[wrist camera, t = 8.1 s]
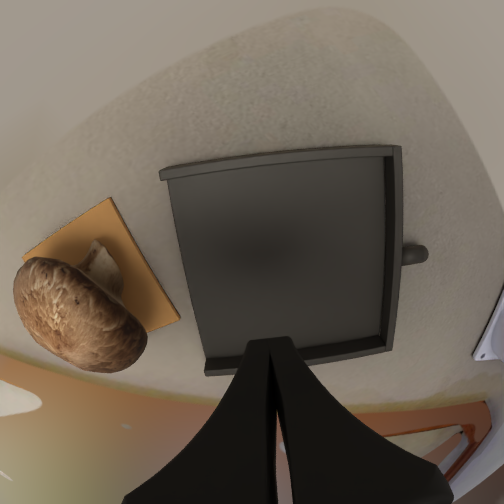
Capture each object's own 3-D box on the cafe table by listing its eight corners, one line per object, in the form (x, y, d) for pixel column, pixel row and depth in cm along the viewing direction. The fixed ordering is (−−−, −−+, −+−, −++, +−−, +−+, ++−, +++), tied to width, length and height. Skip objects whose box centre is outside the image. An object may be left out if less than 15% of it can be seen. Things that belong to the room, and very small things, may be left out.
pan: (207, 360, 20) (205, 376, 18) (166, 167, 15) (158, 170, 14) (410, 330, 19) (419, 344, 18) (419, 144, 15) (434, 145, 13)
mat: (110, 197, 16) (108, 198, 15) (180, 317, 18) (179, 320, 18) (24, 255, 17) (21, 257, 17) (87, 352, 19) (86, 355, 19)
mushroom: (93, 193, 12) (16, 323, 9) (199, 295, 17) (160, 403, 14) (35, 225, 16) (-15, 310, 13) (118, 296, 21) (84, 374, 18)
